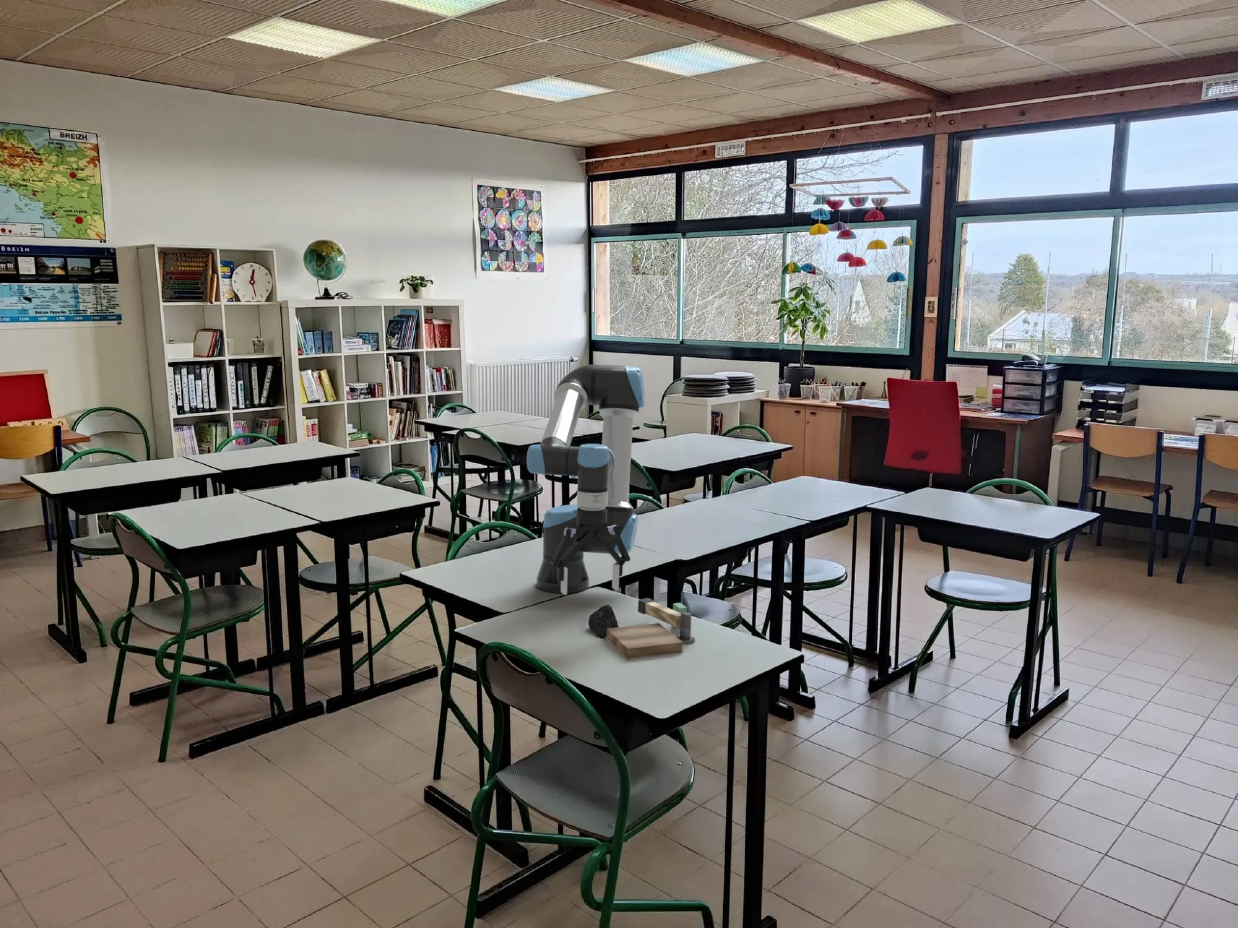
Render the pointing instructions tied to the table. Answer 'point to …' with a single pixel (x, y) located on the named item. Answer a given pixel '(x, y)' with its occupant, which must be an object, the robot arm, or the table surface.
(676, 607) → the pale green block
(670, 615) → the leg
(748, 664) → the table surface
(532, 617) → the table surface
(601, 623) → the rock
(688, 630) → the seat
